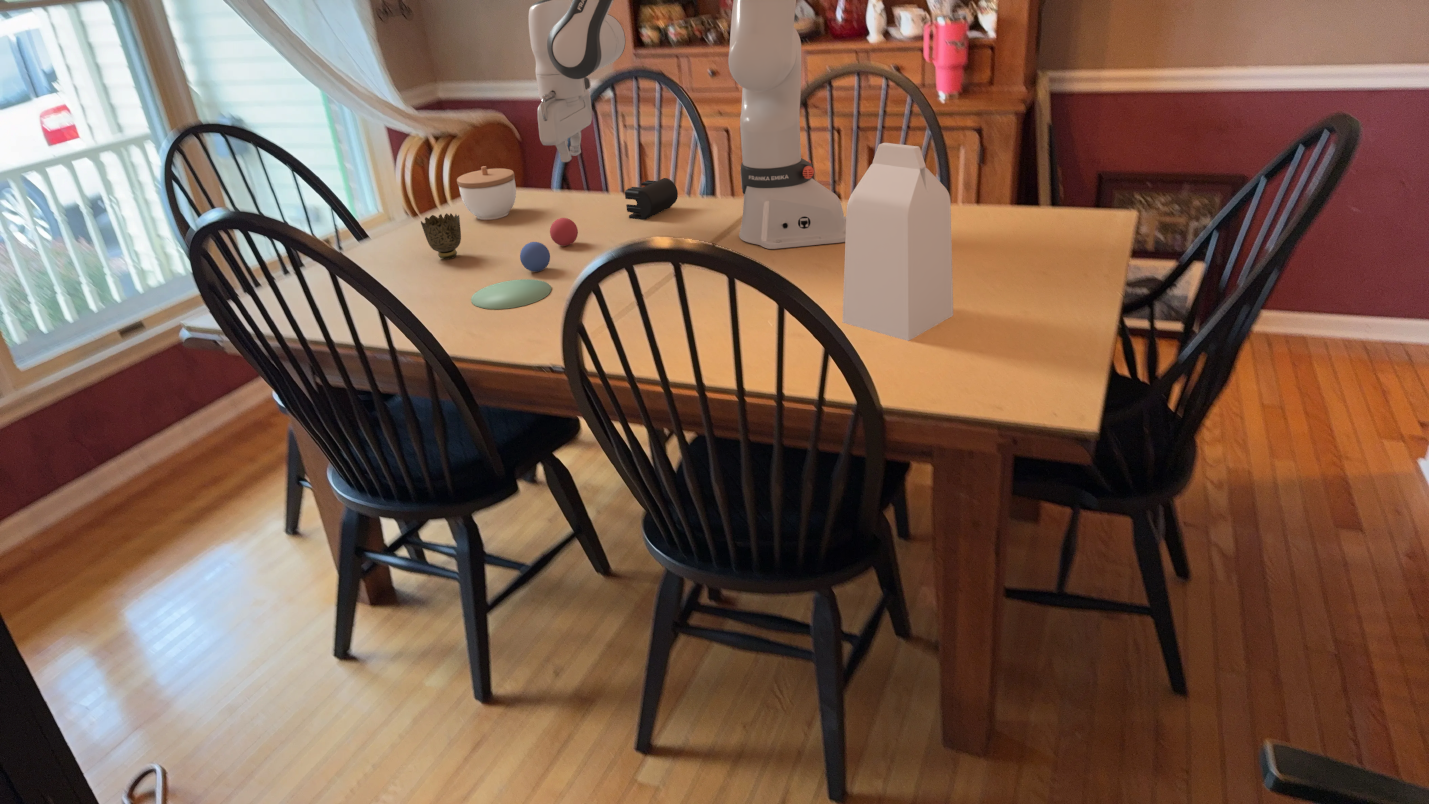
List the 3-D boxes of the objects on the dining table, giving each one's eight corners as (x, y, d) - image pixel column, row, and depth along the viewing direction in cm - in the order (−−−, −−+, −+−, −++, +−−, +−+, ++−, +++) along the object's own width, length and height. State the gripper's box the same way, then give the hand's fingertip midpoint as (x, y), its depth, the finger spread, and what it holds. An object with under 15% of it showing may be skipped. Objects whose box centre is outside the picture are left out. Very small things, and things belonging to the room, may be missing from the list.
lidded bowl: (532, 209, 217) (524, 161, 212) (493, 225, 208) (484, 175, 203) (492, 205, 223) (483, 158, 218) (453, 221, 214) (442, 172, 209)
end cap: (653, 222, 201) (649, 190, 198) (626, 219, 204) (622, 188, 201) (680, 209, 208) (676, 178, 205) (653, 206, 212) (650, 176, 209)
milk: (842, 322, 144) (838, 150, 133) (887, 299, 151) (888, 133, 139) (908, 341, 137) (910, 159, 125) (953, 315, 143) (959, 141, 132)
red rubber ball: (582, 240, 193) (578, 213, 190) (575, 249, 188) (571, 222, 185) (556, 241, 194) (552, 215, 191) (548, 250, 189) (544, 223, 186)
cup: (457, 263, 186) (448, 223, 182) (422, 263, 188) (413, 224, 184) (473, 251, 193) (465, 212, 189) (439, 251, 194) (431, 213, 190)
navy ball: (555, 265, 180) (551, 237, 177) (547, 275, 175) (542, 246, 173) (528, 266, 181) (523, 238, 178) (518, 276, 176) (513, 247, 174)
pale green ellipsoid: (560, 279, 173) (560, 278, 173) (537, 308, 160) (537, 307, 160) (487, 281, 175) (487, 280, 175) (459, 310, 163) (458, 309, 163)
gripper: (556, 96, 176) (567, 170, 182) (593, 77, 194) (602, 146, 200) (524, 97, 178) (537, 171, 184) (564, 79, 195) (574, 147, 201)
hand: (571, 158), depth 192 cm, fingers open, 4 cm apart
